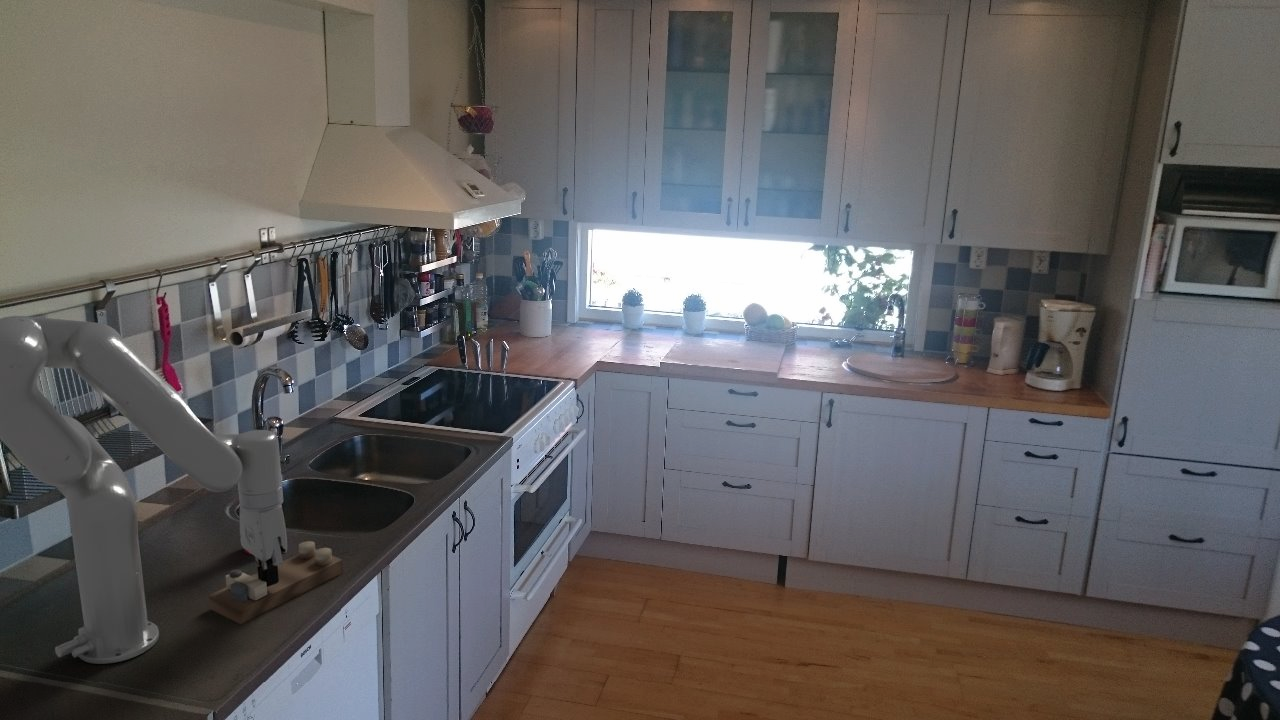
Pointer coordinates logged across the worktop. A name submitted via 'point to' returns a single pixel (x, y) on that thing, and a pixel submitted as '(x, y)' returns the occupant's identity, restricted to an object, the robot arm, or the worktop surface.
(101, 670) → the worktop surface
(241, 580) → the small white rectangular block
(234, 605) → the rectangular wooden board
